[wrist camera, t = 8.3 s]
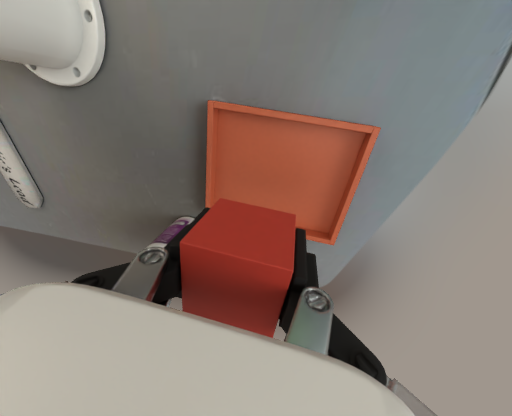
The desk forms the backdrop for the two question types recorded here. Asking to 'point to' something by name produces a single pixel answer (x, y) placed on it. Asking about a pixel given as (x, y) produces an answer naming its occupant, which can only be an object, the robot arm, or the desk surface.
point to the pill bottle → (171, 232)
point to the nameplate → (17, 173)
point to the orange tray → (286, 163)
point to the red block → (238, 265)
